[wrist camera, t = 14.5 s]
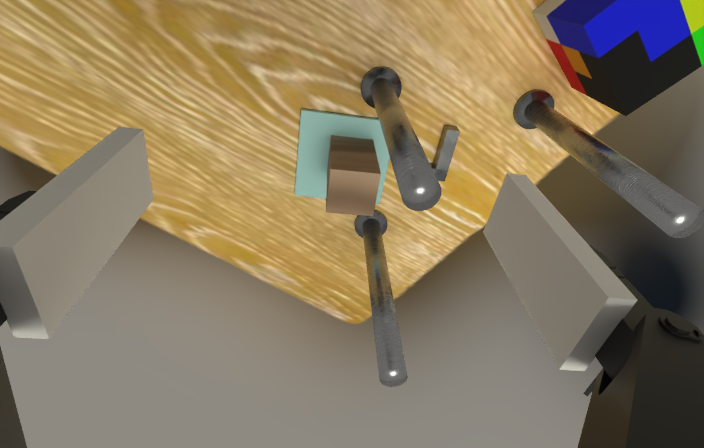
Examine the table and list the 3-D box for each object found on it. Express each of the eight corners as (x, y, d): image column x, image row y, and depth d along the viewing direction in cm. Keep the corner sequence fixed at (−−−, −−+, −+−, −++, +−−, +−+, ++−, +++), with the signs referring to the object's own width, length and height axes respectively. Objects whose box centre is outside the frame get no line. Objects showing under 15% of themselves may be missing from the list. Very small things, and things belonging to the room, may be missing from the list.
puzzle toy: (531, 12, 40) (583, 25, 32) (628, -67, 37) (713, -75, 29) (571, 87, 45) (625, 116, 37) (661, 22, 42) (743, 38, 33)
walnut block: (330, 135, 46) (330, 169, 39) (373, 139, 47) (381, 173, 39) (326, 173, 49) (325, 212, 41) (366, 177, 49) (373, 216, 42)
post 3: (507, 124, 47) (637, 246, 27) (522, 87, 45) (676, 190, 25) (542, 129, 47) (695, 252, 28) (558, 92, 45) (738, 198, 25)
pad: (295, 192, 51) (294, 195, 50) (301, 108, 45) (301, 110, 44) (378, 201, 52) (379, 204, 52) (396, 121, 46) (396, 122, 46)
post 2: (352, 235, 55) (364, 392, 35) (357, 208, 52) (372, 360, 33) (383, 238, 55) (412, 394, 35) (389, 211, 53) (424, 363, 33)
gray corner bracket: (397, 170, 50) (399, 176, 48) (409, 120, 46) (411, 125, 45) (441, 175, 50) (444, 181, 49) (456, 126, 47) (459, 131, 46)
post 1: (358, 104, 45) (379, 220, 25) (364, 63, 42) (393, 156, 23) (396, 109, 45) (446, 227, 25) (404, 69, 43) (467, 165, 23)
